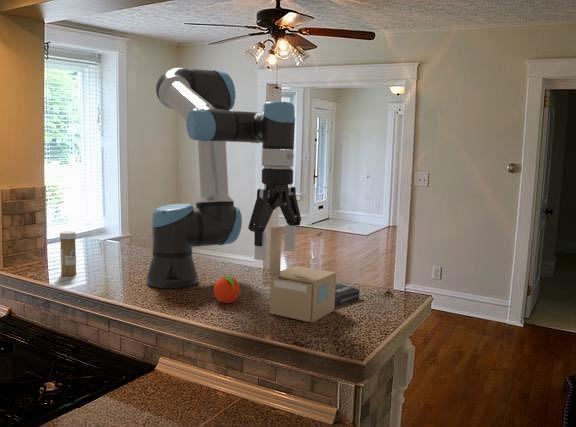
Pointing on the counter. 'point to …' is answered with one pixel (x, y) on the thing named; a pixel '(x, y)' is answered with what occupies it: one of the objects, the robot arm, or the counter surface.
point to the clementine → (226, 289)
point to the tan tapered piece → (287, 287)
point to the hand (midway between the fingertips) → (275, 255)
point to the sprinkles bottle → (68, 253)
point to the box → (345, 294)
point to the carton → (315, 288)
